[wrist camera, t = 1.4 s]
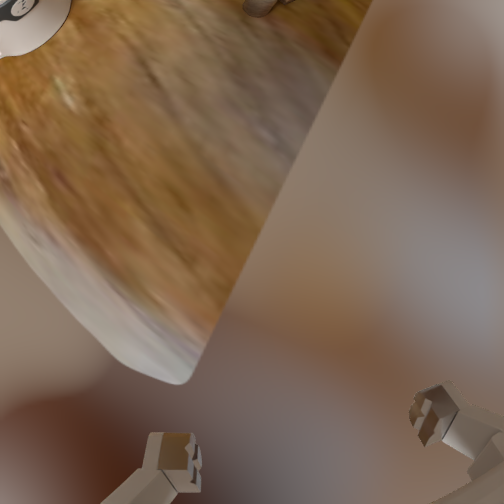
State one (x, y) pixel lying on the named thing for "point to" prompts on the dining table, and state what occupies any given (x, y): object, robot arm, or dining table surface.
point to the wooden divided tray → (286, 1)
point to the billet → (258, 7)
